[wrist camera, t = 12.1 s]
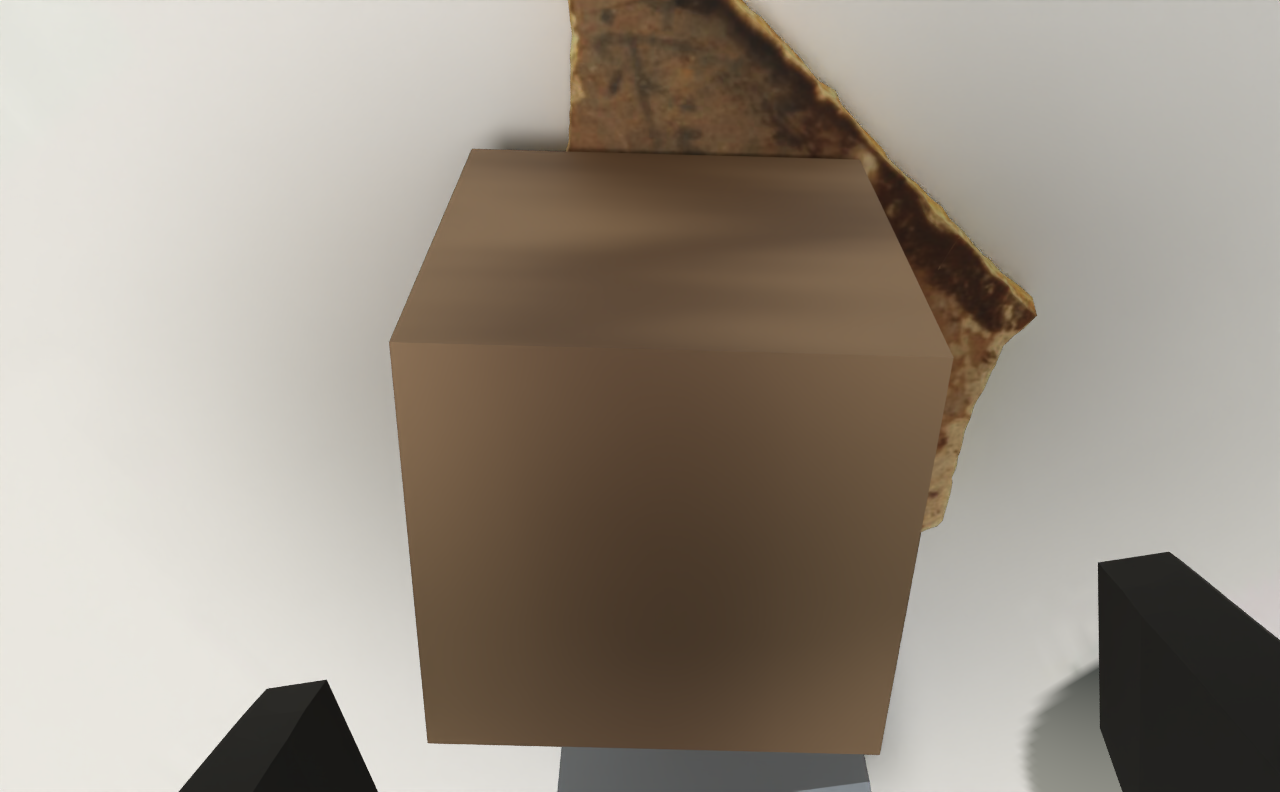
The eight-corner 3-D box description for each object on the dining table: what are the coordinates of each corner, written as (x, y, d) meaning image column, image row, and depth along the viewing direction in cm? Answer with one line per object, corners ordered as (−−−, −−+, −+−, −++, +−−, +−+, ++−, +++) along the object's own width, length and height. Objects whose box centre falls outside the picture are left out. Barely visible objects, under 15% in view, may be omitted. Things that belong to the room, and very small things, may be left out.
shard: (573, -178, 16) (564, -170, 15) (1111, -149, 16) (1161, -138, 15) (562, 469, 21) (555, 526, 20) (968, 487, 22) (993, 545, 20)
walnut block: (859, 159, 17) (953, 357, 11) (819, 479, 19) (879, 755, 14) (471, 148, 17) (388, 341, 11) (488, 470, 19) (427, 743, 14)
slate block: (826, 576, 22) (869, 781, 18) (855, 758, 24) (899, 978, 20) (573, 614, 23) (554, 823, 18) (626, 789, 25) (621, 1009, 21)
